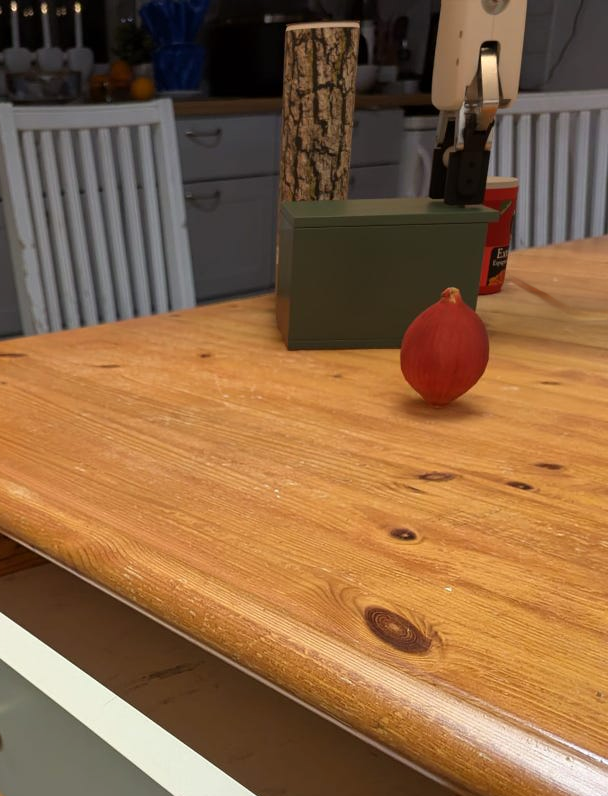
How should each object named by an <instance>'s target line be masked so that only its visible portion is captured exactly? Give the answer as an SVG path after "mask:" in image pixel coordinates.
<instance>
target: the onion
mask: <svg viewBox="0 0 608 796" xmlns="http://www.w3.org/2000/svg"><path fill="white" fill-rule="evenodd" d="M441 296H442V298H441V300H440V301H439V302H437V303H436V304H434V305H432V306H431V307H429V308H427V309H426V310H425V311H423V312H422V313H421V314H420V315H419V316H418V317H417V318H416V319H415V320H414V321H413V322H412V323H411V325H410V326H409V328H408V330H407V331H406V333H405V336H404V338H403V341H402V345H401V348H400V354H399V362H400V363H399V365H400V371H401V373H402V375H403V378H404V380H405V381H406V382H407V384H408V385H409V386H410V387H411V388H412V390H414V391H415V392H416V393H417V394H418V395H420V397H421V398H423V399H424V401H425V402H426V403H427V405H429V406H430V407H431V408H433V409H441V408H442V409H443V408H445V407H446V406H448V405H449V404H451V403H453V402H454V401H456V400H457V399H459V398H460V397H461V396H463V395H464V394H467V392H469V391H470V390H471V389H472V388H473V387H474V386H476V385H477V383H478V382H479V380H480V379H481V378H482V377H483V375H484V374H485V372H486V370H487V366H488V363H489V360H490V339H489V333H488V330H487V327H486V325H485V323H484V321H483V320H482V319H481V317H480V315H479V314H478V313H477V311H476V312H475V311H474V310H473V309H471V308H470V307H469V306H468V305H466V304H465V303H464V302H463V300H462V298H461V295H460V293H459V290H458V289H456V288H448V289H446V290H445V291H444V292H443V293H441Z"/></svg>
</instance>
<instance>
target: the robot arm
mask: <svg viewBox="0 0 608 796" xmlns="http://www.w3.org/2000/svg"><path fill="white" fill-rule="evenodd" d="M440 1H441V2H440V5H441V6H440V13H439V20H438V27H437V28H438V29H437V35H436V43H435V44H436V45H435V50H434V51H435V53H434V60H433V69H432V80H431V103H432V105H433V106H434V108H436V109H437V110H439V113H438V114H439V115H438V120H437V126H436V130H435V131H436V132H435V138H434V148H433V150H432V151H433V152H432V160H431V170H430V179H429V187H428V188H429V189H428V197H430V198H431V199H444V203H445V204H446V205H448V206H455V205H480V204H482V203H483V201H484V197H485V190H486V183H487V176H489V169H490V167H489V166H490V159H491V152H492V151H491V150H492V147H493V140H494V138H493V137H494V128H495V124H496V119H495V116H496V114H497V112H498V110H507V109H510V107H512V106H513V104H514V103H515V102H516V101H517V98H518V92H519V86H520V76H521V67H522V58H523V49H524V48H523V47H524V40H525V39H524V37H525V29H526V19H527V7H528V0H440ZM451 146H454V152H449V159H448V168H447V167H446V166H445V165H444V163H443V155H444V152H445V151H446V150H447V149H448V148H449V147H451Z"/></svg>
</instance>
